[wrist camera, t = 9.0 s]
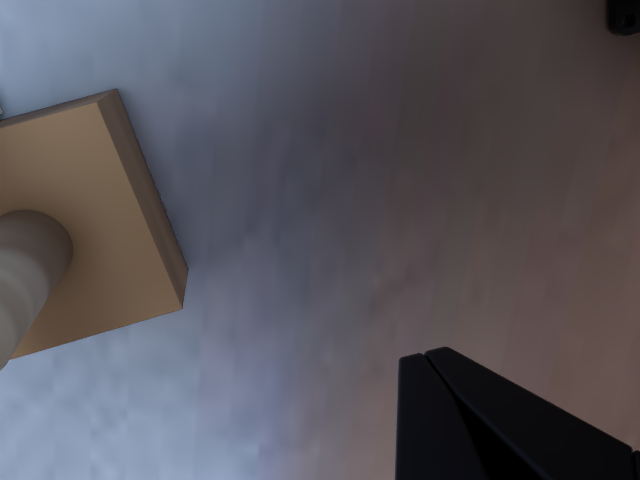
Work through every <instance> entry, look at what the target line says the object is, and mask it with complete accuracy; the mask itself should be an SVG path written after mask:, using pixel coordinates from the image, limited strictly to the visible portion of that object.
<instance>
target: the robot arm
mask: <svg viewBox="0 0 640 480" xmlns="http://www.w3.org/2000/svg"><path fill="white" fill-rule="evenodd" d="M608 8H609V28H610V30H611V32H612V33H613V34H615V35H632V34H635V33H639V32H640V0H608ZM626 14H627V15H628V22H627V24H626V25H625V26H623V23H622V22H623V18H624V17H625V15H626ZM395 480H640V451H638V450H636V451H634V453H633V448H632V447H631V446H629V445H627V444H625V443H623V442H622V441H620V440H618V439H616V438H614V437H612V436H611V435H609V434H607V433H605V432H603V431H601V430H600V429H598V428H596V427H594V426H592V425H590V424H589V423H587V422H585V421H583V420H581V419H579V418H578V417H576V416H574V415H572V414H570V413H568V412H567V411H565V410H563V409H561V408H559V407H557V406H556V405H554V404H552V403H550V402H548V401H546V400H545V399H543V398H541V397H539V396H537V395H535V394H534V393H532V392H530V391H528V390H526V389H524V388H523V387H521V386H519V385H517V384H515V383H513V382H512V381H510V380H508V379H506V378H504V377H502V376H501V375H499V374H497V373H495V372H493V371H491V370H490V369H488V368H486V367H484V366H482V365H480V364H479V363H477V362H475V361H473V360H471V359H469V358H468V357H466V356H464V355H462V354H460V353H458V352H457V351H455V350H453V349H451V348H449V347H441V348H437V349H433V350H429V351H426V352H425V353H424V355H423V354H421V353H417V354H413V355H409V356H405V357H401V358H400V359H399V371H398V401H397V430H396V460H395Z"/></svg>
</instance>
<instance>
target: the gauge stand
mask: <svg viewBox="0 0 640 480" xmlns="http://www.w3.org/2000/svg"><path fill="white" fill-rule="evenodd" d="M187 275H188V268H187V265H186V263H185V260H184V257H183V255H182V252H181V250H180V247H179V245H178V242H177V240H176V237H175V235H174V232H173V230H172V227H171V225H170V222H169V220H168V217H167V214H166V212H165V209H164V207H163V204H162V202H161V199H160V197H159V194H158V192H157V189H156V187H155V184H154V182H153V179H152V177H151V174H150V171H149V169H148V166H147V164H146V161H145V159H144V156H143V154H142V151H141V149H140V146H139V144H138V141H137V139H136V136H135V134H134V131H133V128H132V126H131V123H130V121H129V118H128V116H127V113H126V111H125V108H124V106H123V103H122V101H121V98H120V96H119V93H118V91H117V89H113V90H109V91H106V92H102V93H98V94H95V95H91V96H87V97H84V98H80V99H76V100H73V101H69V102H65V103H62V104H58V105H54V106H51V107H47V108H43V109H40V110H36V111H32V112H29V113H25V114H21V115H18V116H14V117H10V118H7V119H3V120H0V370H1V369H2V368H3V367H4V366H5V365H6V364H7V363H8V361H9V360H11V359H14V358H18V357H21V356H25V355H28V354H31V353H35V352H38V351H42V350H45V349H48V348H52V347H55V346H59V345H62V344H65V343H69V342H72V341H76V340H79V339H82V338H86V337H89V336H93V335H96V334H99V333H103V332H106V331H110V330H113V329H116V328H120V327H123V326H127V325H130V324H133V323H137V322H140V321H144V320H147V319H150V318H154V317H157V316H161V315H164V314H167V313H171V312H174V311H178V310H181V309H182V308H183V301H184V295H185V288H186V282H187Z"/></svg>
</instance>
